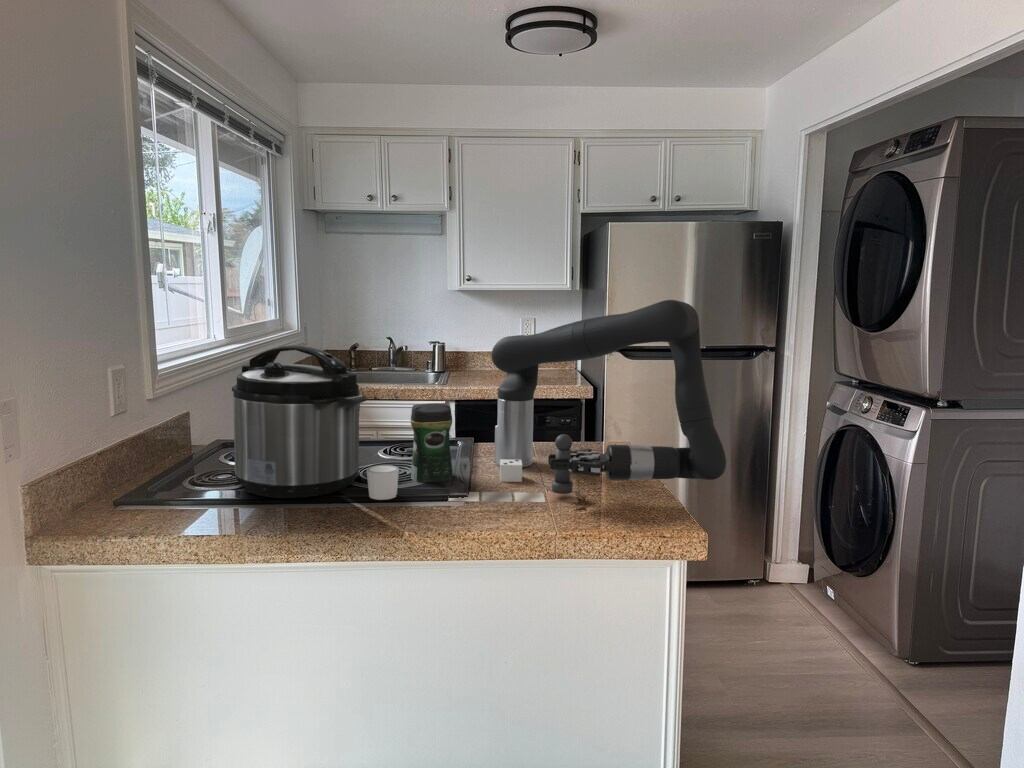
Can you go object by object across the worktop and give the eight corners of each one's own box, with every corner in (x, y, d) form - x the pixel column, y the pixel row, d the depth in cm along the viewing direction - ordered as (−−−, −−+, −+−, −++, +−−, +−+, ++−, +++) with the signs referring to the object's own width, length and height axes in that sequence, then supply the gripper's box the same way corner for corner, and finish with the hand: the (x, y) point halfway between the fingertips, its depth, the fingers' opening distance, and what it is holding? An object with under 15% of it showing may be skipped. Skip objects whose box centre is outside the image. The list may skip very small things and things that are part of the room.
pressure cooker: (386, 490, 154) (385, 349, 150) (256, 512, 138) (250, 355, 133) (337, 460, 179) (335, 338, 174) (221, 476, 162) (215, 342, 158)
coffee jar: (447, 475, 168) (448, 399, 165) (455, 484, 160) (456, 405, 157) (407, 478, 164) (407, 401, 162) (414, 487, 157) (414, 407, 154)
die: (500, 485, 160) (500, 464, 159) (499, 479, 165) (500, 458, 164) (521, 486, 160) (522, 464, 159) (520, 479, 165) (521, 459, 164)
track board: (441, 508, 143) (441, 503, 143) (444, 494, 153) (444, 489, 153) (585, 510, 144) (585, 505, 144) (579, 495, 154) (579, 490, 154)
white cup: (405, 498, 149) (405, 466, 148) (387, 507, 143) (386, 474, 142) (379, 493, 152) (379, 462, 151) (360, 502, 146) (359, 470, 145)
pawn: (547, 489, 149) (549, 433, 147) (562, 486, 152) (564, 431, 150) (561, 495, 145) (563, 437, 144) (576, 491, 148) (578, 434, 146)
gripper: (623, 437, 154) (546, 437, 154) (637, 453, 141) (552, 452, 140) (622, 470, 156) (546, 469, 155) (635, 489, 142) (551, 488, 141)
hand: (549, 461), depth 147 cm, fingers closed on pawn, 3 cm apart
